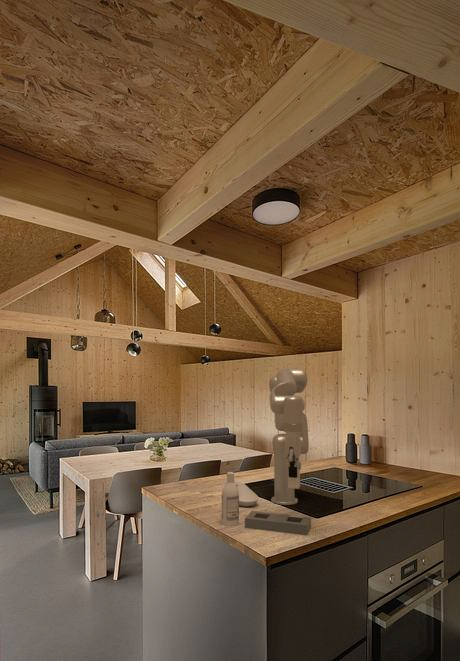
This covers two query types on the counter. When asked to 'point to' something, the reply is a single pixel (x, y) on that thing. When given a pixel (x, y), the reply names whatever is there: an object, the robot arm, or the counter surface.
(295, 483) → the plug
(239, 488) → the spoon rest
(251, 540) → the counter surface
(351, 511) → the counter surface
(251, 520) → the socket block
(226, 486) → the bath foam
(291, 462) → the robot arm
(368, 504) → the counter surface
